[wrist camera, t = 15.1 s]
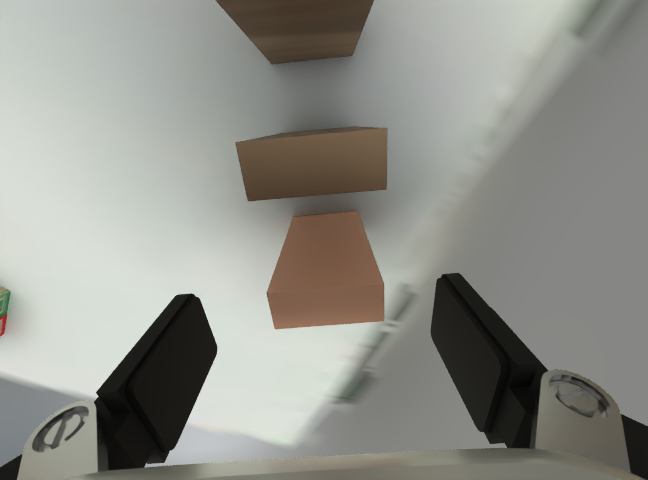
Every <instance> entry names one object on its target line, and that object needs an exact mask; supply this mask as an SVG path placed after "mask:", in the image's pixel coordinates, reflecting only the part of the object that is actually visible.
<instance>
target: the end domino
mask: <svg viewBox="0 0 648 480" xmlns="http://www.w3.org/2000/svg"><path fill="white" fill-rule="evenodd" d="M267 297H268V302H269V306H270V310H271V315H272V319H273V323H274V328H275V329H284V328H297V327H311V326H324V325H337V324H351V323H364V322H378V321H384V282H383V280H382V277H381V274H380V271H379V269H378V266H377V263H376V261H375V258H374V255H373V252H372V250H371V247H370V244H369V242H368V239H367V236H366V233H365V231H364V228H363V225H362V223H361V220H360V217H359V214H358V212H357V211H349V212H339V213H328V214H317V215H307V216H296V217H293V219H292V222H291V225H290V228H289V230H288V233H287V236H286V239H285V242H284V245H283V248H282V250H281V253H280V256H279V259H278V262H277V265H276V268H275V271H274V273H273V276H272V279H271V282H270V285H269V288H268V291H267Z"/></svg>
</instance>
